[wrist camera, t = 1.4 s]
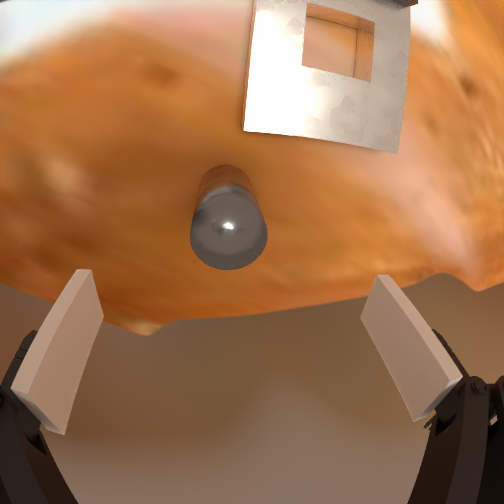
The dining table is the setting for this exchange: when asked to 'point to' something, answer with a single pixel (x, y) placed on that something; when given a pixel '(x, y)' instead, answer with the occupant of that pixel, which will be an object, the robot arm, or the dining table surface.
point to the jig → (329, 73)
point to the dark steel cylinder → (227, 220)
